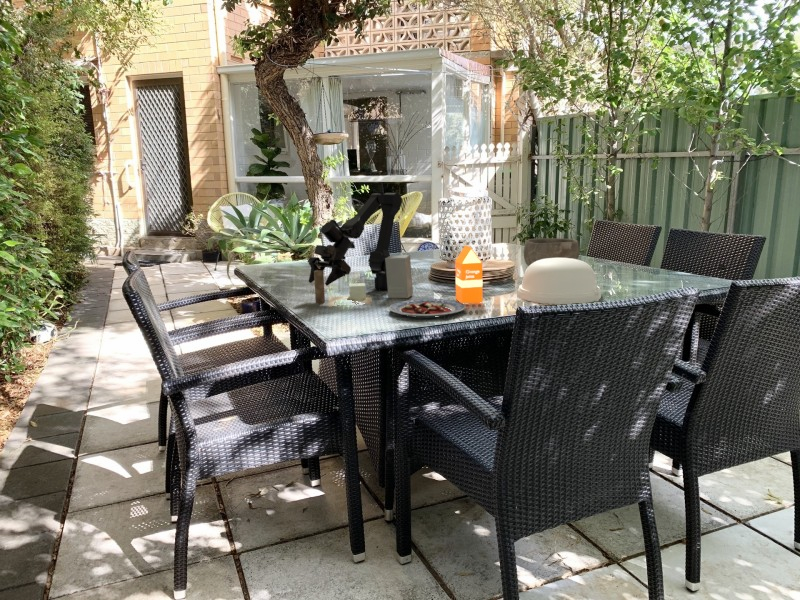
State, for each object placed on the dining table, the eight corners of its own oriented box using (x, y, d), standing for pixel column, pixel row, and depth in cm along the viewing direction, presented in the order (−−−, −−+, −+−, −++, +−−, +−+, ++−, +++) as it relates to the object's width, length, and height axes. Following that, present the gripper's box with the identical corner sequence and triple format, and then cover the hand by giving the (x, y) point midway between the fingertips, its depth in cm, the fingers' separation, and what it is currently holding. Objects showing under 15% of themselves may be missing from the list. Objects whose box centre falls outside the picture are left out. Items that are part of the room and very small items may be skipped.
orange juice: (475, 298, 231) (475, 244, 227) (482, 303, 222) (482, 247, 218) (455, 299, 230) (454, 245, 226) (461, 304, 221) (461, 248, 217)
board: (370, 295, 242) (370, 295, 242) (372, 305, 224) (372, 304, 224) (329, 297, 240) (329, 296, 240) (327, 307, 223) (327, 306, 223)
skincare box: (413, 295, 240) (412, 254, 236) (407, 299, 233) (406, 257, 230) (392, 294, 242) (391, 254, 239) (386, 298, 236) (384, 256, 233)
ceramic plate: (408, 325, 194) (408, 315, 194) (378, 309, 218) (377, 301, 217) (479, 315, 204) (479, 306, 204) (443, 301, 228) (443, 293, 227)
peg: (325, 302, 232) (323, 270, 230) (324, 303, 229) (323, 271, 227) (315, 302, 232) (314, 270, 230) (315, 304, 229) (313, 272, 226)
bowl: (585, 276, 269) (586, 242, 266) (529, 278, 270) (529, 243, 267) (571, 268, 293) (571, 236, 290) (519, 269, 293) (519, 238, 290)
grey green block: (365, 295, 241) (364, 283, 240) (365, 298, 235) (365, 285, 234) (349, 296, 240) (349, 283, 239) (350, 299, 234) (349, 286, 233)
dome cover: (499, 297, 232) (499, 260, 230) (543, 285, 253) (544, 251, 250) (576, 308, 210) (577, 267, 207) (618, 295, 230) (620, 257, 228)
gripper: (310, 235, 235) (288, 268, 229) (343, 237, 223) (321, 272, 217) (326, 254, 242) (306, 286, 237) (360, 257, 230) (339, 291, 224)
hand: (317, 283), depth 228 cm, fingers open, 9 cm apart
